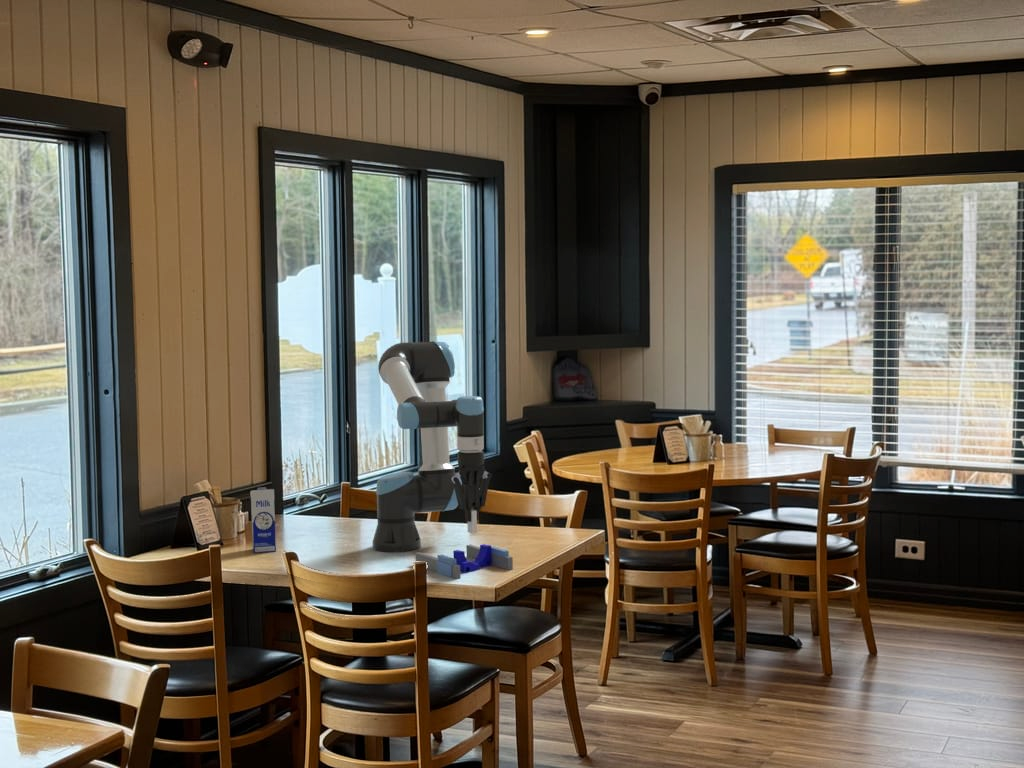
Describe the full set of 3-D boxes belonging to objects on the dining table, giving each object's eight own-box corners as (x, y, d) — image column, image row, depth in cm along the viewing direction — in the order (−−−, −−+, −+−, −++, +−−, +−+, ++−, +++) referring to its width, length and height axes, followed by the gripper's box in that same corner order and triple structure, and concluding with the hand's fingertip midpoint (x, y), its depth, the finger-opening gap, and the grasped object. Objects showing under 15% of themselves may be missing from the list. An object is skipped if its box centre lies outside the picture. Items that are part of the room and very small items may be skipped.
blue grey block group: (414, 564, 352) (414, 548, 351) (470, 556, 362) (470, 539, 362) (454, 579, 333) (454, 561, 332) (512, 569, 343) (512, 552, 343)
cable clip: (464, 573, 340) (463, 552, 339) (453, 571, 343) (453, 550, 343) (494, 566, 348) (494, 546, 348) (484, 564, 351) (483, 544, 351)
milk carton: (253, 553, 374) (251, 489, 372) (252, 549, 380) (249, 486, 379) (276, 551, 375) (274, 488, 374) (274, 547, 382) (272, 485, 381)
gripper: (457, 454, 334) (459, 537, 336) (497, 450, 341) (498, 531, 343) (444, 451, 340) (445, 533, 342) (483, 447, 347) (484, 527, 349)
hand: (472, 532), depth 343 cm, fingers closed
